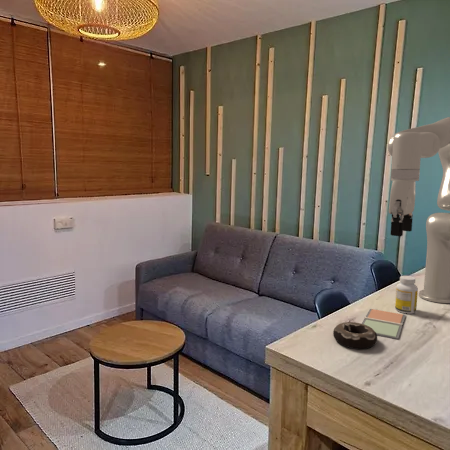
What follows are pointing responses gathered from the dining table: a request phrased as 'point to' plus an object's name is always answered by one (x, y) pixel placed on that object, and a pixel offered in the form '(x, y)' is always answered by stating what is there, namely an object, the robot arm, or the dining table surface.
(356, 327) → the donut
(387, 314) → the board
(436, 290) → the robot arm
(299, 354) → the dining table surface
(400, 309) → the pill bottle
